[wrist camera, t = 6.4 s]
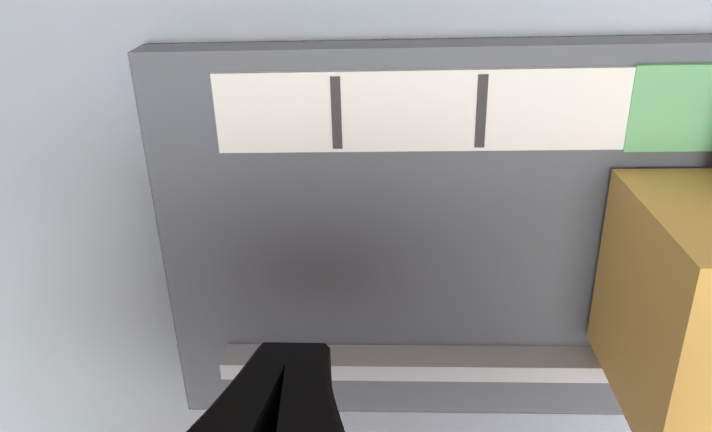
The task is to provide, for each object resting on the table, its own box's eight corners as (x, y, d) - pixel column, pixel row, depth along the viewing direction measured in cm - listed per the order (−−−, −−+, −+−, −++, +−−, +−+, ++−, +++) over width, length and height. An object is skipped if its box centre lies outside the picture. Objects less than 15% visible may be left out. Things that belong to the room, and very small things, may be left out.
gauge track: (894, 391, 20) (1065, 551, 15) (199, 384, 21) (139, 531, 16) (1043, 27, 15) (1364, 82, 10) (144, 43, 17) (37, 99, 12)
